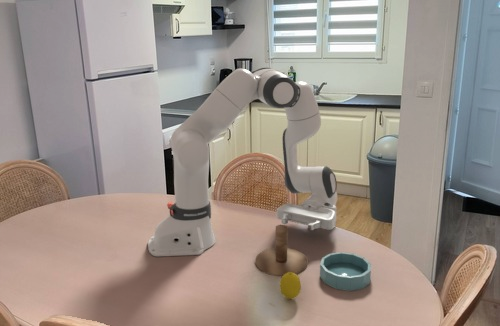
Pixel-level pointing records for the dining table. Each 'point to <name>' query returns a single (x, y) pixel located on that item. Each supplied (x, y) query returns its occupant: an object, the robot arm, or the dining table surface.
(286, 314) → the dining table surface
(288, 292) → the lemon
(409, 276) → the dining table surface
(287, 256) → the lid
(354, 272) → the bowl
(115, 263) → the dining table surface
